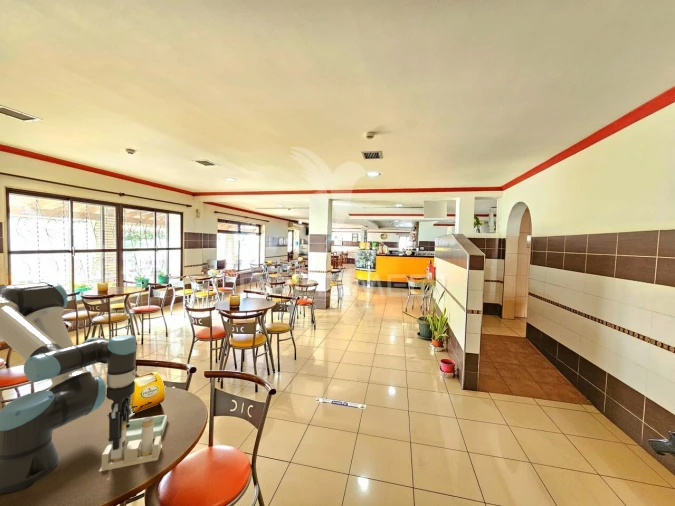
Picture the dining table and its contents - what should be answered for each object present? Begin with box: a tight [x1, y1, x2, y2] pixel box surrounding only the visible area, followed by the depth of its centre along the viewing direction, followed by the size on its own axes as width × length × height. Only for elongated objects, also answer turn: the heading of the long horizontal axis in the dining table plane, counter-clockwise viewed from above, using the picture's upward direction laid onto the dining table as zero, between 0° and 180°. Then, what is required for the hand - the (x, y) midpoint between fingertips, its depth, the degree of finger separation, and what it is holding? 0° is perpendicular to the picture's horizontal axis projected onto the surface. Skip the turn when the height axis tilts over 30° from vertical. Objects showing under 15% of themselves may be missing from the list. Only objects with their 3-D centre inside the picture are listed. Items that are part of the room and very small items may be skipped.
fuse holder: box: [98, 436, 163, 472], centre depth 96 cm, size 16×8×5 cm, turn 111°
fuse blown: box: [112, 421, 126, 462], centre depth 95 cm, size 4×4×12 cm
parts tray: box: [109, 413, 169, 445], centre depth 109 cm, size 16×11×4 cm
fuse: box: [140, 416, 154, 457], centre depth 98 cm, size 4×4×12 cm
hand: (118, 452), depth 95 cm, fingers closed on fuse blown, 3 cm apart
